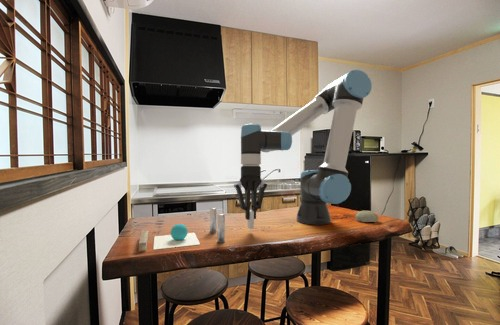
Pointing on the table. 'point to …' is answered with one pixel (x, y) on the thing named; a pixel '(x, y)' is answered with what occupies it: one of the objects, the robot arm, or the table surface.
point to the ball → (179, 232)
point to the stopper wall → (143, 241)
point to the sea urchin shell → (366, 216)
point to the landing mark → (174, 241)
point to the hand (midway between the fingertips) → (250, 227)
